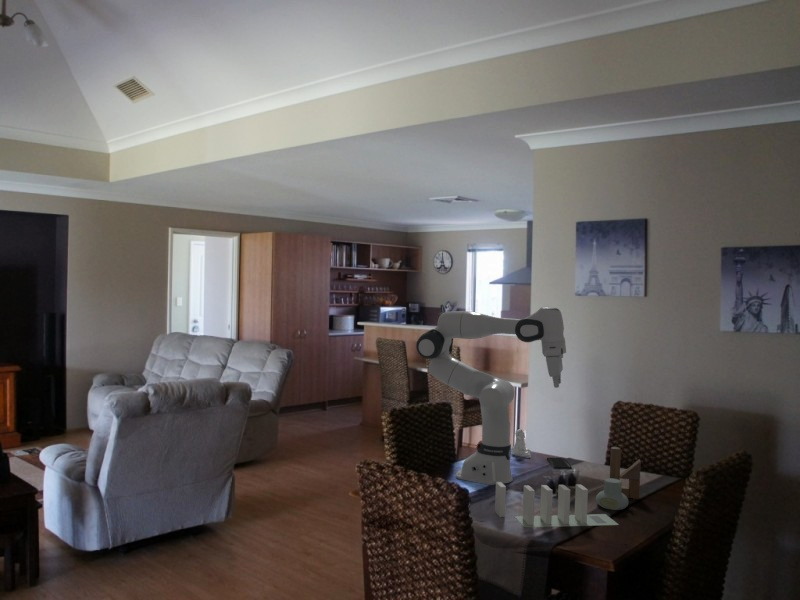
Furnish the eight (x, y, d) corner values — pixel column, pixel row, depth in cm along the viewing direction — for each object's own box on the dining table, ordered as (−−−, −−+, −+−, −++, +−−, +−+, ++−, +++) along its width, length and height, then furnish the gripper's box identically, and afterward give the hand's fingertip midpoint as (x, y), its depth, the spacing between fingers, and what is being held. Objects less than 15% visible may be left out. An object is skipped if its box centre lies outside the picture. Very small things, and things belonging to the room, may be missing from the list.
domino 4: (563, 523, 220) (565, 490, 220) (557, 517, 226) (558, 484, 226) (569, 523, 221) (570, 490, 220) (562, 517, 226) (563, 484, 226)
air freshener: (630, 508, 241) (631, 480, 240) (625, 515, 233) (626, 486, 233) (599, 502, 246) (600, 475, 246) (593, 508, 239) (594, 480, 239)
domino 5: (581, 523, 221) (582, 489, 221) (574, 517, 227) (575, 484, 227) (586, 523, 222) (587, 489, 221) (579, 517, 227) (580, 484, 227)
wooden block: (639, 499, 251) (641, 451, 250) (608, 496, 253) (610, 448, 252) (638, 496, 254) (640, 448, 254) (608, 493, 257) (610, 446, 256)
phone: (563, 457, 304) (572, 467, 289) (563, 460, 304) (572, 469, 289) (546, 457, 304) (553, 466, 289) (546, 459, 304) (553, 469, 289)
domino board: (524, 530, 216) (524, 527, 216) (514, 519, 226) (514, 516, 226) (618, 527, 221) (619, 524, 221) (605, 516, 231) (605, 513, 231)
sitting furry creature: (530, 458, 304) (531, 432, 304) (511, 457, 306) (512, 430, 305) (530, 453, 314) (531, 427, 313) (511, 452, 315) (512, 426, 315)
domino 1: (499, 519, 225) (500, 487, 225) (494, 514, 231) (495, 481, 230) (504, 519, 225) (506, 486, 225) (500, 513, 231) (501, 481, 231)
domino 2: (528, 524, 219) (529, 490, 218) (522, 518, 224) (523, 485, 224) (533, 524, 219) (534, 490, 219) (527, 518, 224) (529, 485, 224)
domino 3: (546, 524, 220) (547, 490, 219) (540, 518, 225) (541, 485, 225) (551, 524, 220) (552, 490, 219) (545, 517, 225) (546, 485, 225)
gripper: (548, 347, 269) (551, 382, 269) (543, 352, 249) (546, 390, 249) (564, 346, 267) (567, 381, 267) (560, 351, 247) (564, 389, 247)
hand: (557, 385), depth 258 cm, fingers open, 8 cm apart
